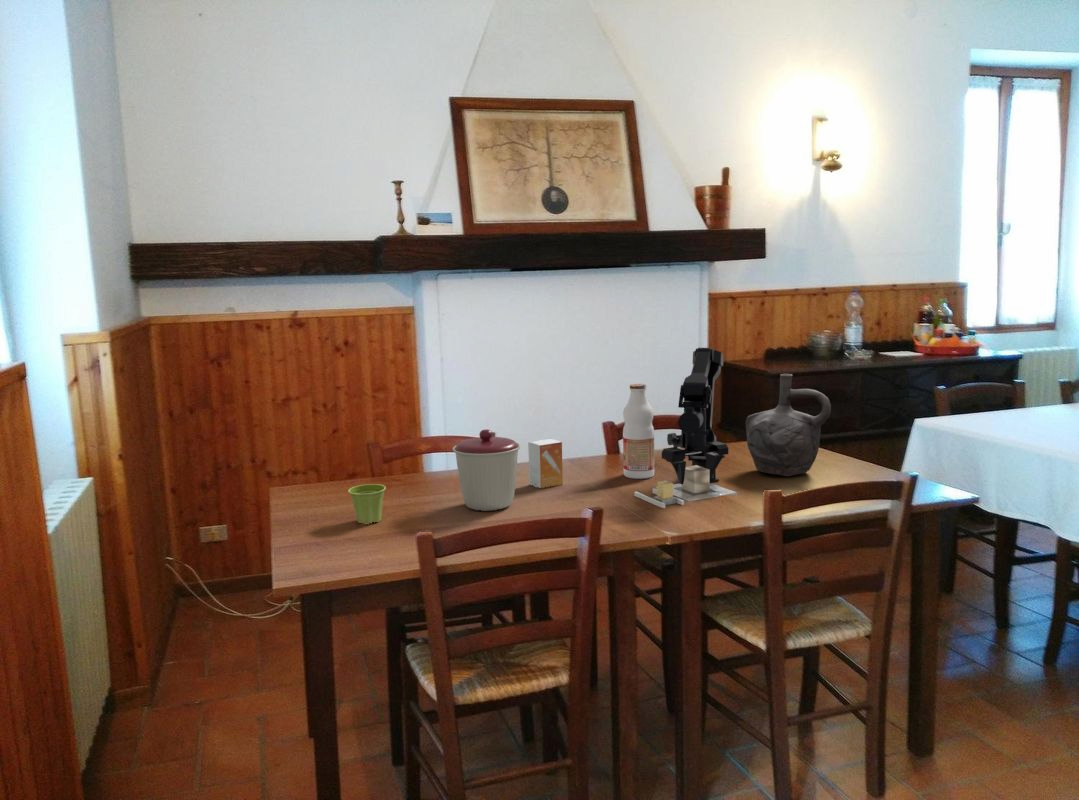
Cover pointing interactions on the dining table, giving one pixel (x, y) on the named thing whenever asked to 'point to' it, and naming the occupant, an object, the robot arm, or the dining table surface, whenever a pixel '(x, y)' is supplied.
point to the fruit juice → (638, 435)
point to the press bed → (690, 496)
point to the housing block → (696, 479)
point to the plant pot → (367, 502)
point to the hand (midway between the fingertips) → (695, 481)
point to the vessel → (786, 433)
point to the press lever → (665, 493)
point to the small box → (545, 463)
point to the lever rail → (656, 500)
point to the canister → (487, 471)
